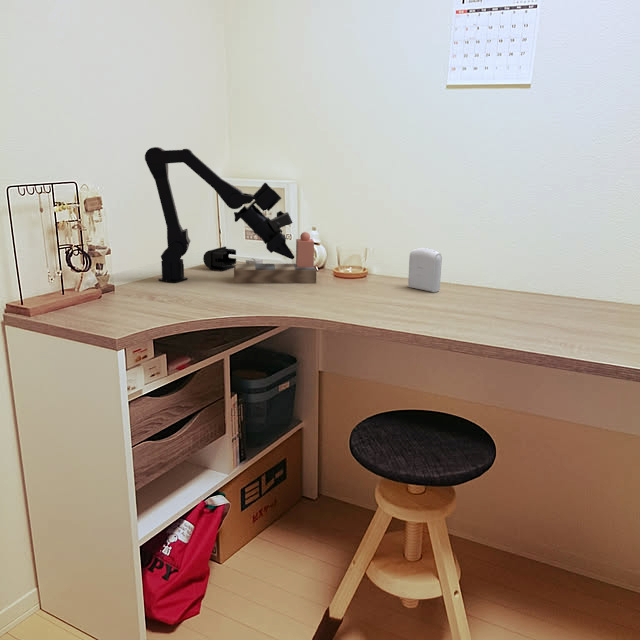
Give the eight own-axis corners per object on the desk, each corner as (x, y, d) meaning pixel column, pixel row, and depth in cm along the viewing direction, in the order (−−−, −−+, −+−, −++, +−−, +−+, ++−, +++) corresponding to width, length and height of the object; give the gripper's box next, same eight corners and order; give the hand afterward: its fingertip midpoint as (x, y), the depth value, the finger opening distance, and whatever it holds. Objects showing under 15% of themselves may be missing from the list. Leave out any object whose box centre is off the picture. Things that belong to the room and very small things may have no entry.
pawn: (297, 267, 199) (297, 233, 197) (295, 264, 204) (296, 231, 201) (313, 267, 200) (314, 233, 197) (311, 264, 205) (312, 231, 202)
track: (234, 283, 196) (233, 268, 195) (234, 277, 205) (234, 263, 204) (316, 283, 199) (316, 268, 198) (312, 277, 208) (313, 263, 207)
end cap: (218, 265, 225) (218, 245, 223) (236, 267, 222) (236, 247, 220) (203, 269, 216) (202, 249, 214) (221, 272, 213) (221, 251, 211)
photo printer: (405, 287, 197) (407, 246, 194) (414, 285, 200) (416, 245, 196) (433, 293, 190) (436, 251, 186) (441, 291, 193) (444, 249, 189)
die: (255, 273, 211) (255, 261, 210) (245, 272, 213) (245, 260, 212) (262, 271, 215) (262, 259, 213) (252, 270, 216) (252, 258, 215)
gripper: (278, 206, 187) (315, 244, 191) (275, 200, 205) (309, 235, 209) (251, 233, 188) (288, 271, 192) (249, 225, 206) (284, 259, 210)
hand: (293, 258), depth 201 cm, fingers closed
